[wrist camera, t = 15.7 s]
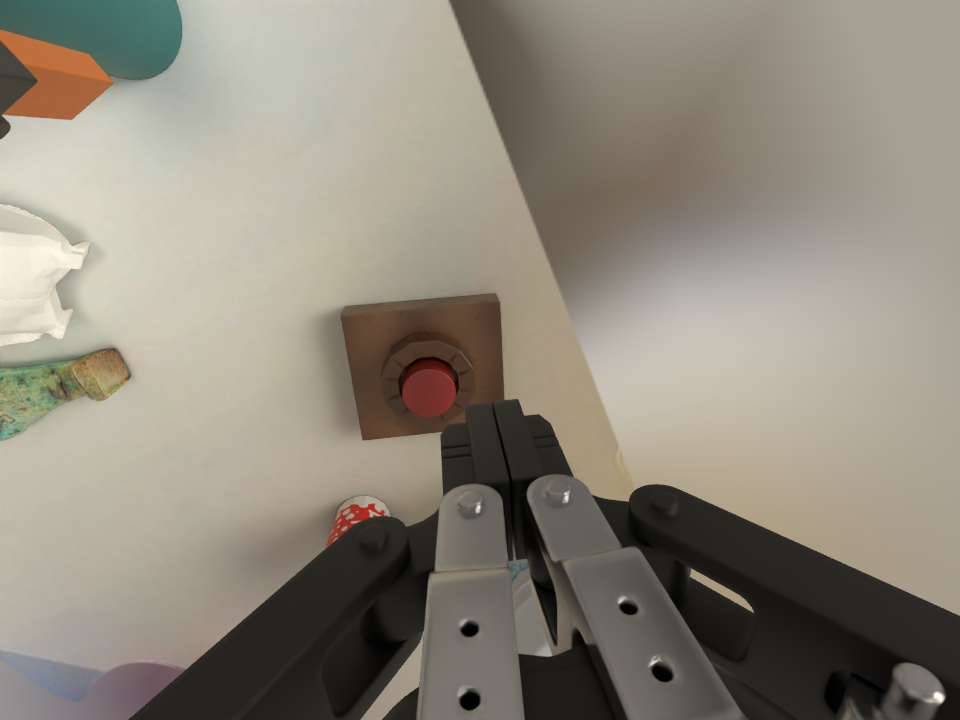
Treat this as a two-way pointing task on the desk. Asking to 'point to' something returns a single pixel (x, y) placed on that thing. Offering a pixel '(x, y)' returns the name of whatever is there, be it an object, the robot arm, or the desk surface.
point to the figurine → (56, 387)
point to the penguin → (33, 276)
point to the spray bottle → (90, 38)
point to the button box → (422, 358)
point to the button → (428, 388)
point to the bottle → (526, 612)
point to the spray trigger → (55, 78)
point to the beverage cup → (356, 514)
